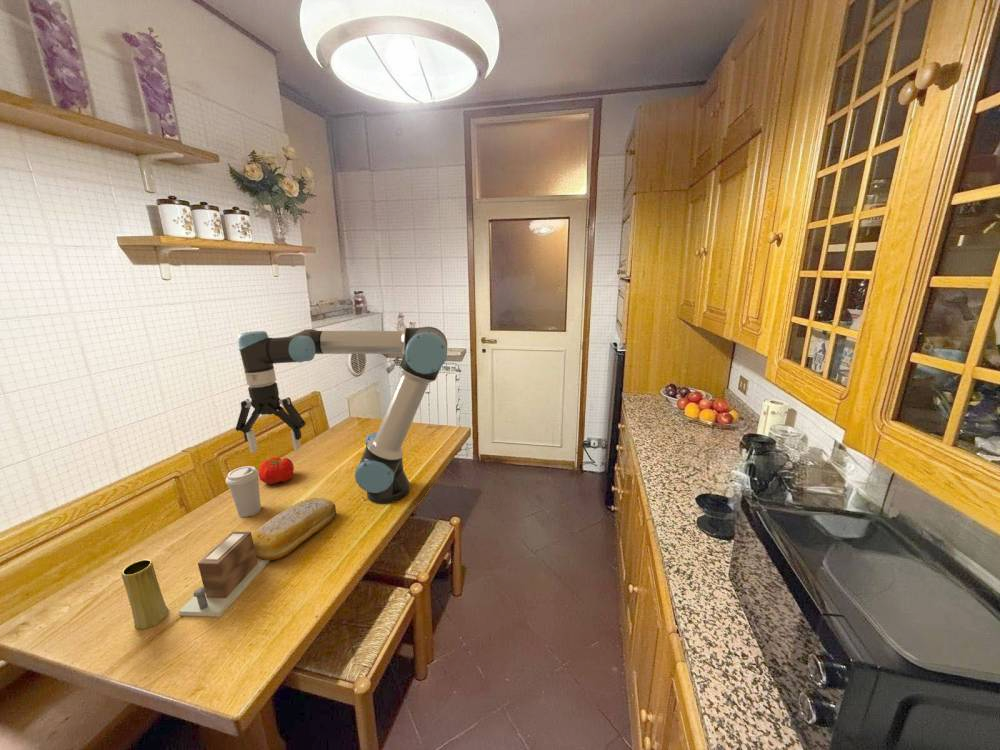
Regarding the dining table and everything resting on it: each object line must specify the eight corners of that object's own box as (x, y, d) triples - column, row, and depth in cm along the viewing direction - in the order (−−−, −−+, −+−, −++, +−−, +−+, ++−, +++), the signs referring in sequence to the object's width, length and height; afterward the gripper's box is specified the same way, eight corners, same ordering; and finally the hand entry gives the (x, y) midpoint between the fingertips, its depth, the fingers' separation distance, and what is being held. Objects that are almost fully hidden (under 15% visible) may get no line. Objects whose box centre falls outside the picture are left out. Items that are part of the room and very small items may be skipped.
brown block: (240, 563, 109) (232, 530, 107) (257, 563, 109) (250, 531, 107) (206, 597, 98) (197, 562, 95) (226, 598, 98) (217, 562, 95)
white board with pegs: (272, 557, 113) (268, 540, 112) (220, 616, 94) (215, 596, 92) (238, 556, 114) (234, 539, 112) (179, 615, 94) (174, 595, 93)
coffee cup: (250, 521, 130) (242, 480, 126) (226, 518, 132) (216, 477, 128) (272, 505, 139) (264, 465, 136) (249, 502, 141) (241, 464, 137)
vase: (148, 609, 97) (133, 558, 93) (175, 606, 97) (161, 556, 93) (127, 630, 91) (110, 578, 87) (156, 628, 91) (140, 575, 88)
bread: (241, 559, 112) (237, 534, 110) (309, 509, 137) (306, 488, 135) (280, 568, 109) (277, 543, 107) (342, 515, 133) (340, 494, 132)
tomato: (252, 485, 153) (248, 465, 151) (280, 470, 164) (277, 451, 162) (276, 491, 148) (272, 470, 146) (303, 475, 159) (300, 456, 157)
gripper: (211, 389, 115) (228, 456, 120) (297, 385, 114) (310, 453, 119) (229, 382, 122) (243, 446, 127) (309, 378, 121) (321, 443, 127)
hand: (275, 450), depth 123 cm, fingers open, 13 cm apart
